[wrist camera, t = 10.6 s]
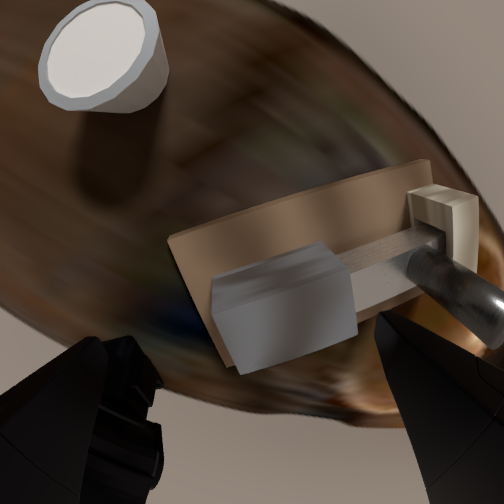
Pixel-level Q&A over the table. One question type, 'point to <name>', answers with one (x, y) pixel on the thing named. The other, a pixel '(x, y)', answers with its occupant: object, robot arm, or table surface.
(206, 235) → the base
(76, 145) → the table surface
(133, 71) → the shot glass
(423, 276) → the dark knobbed lever handle
